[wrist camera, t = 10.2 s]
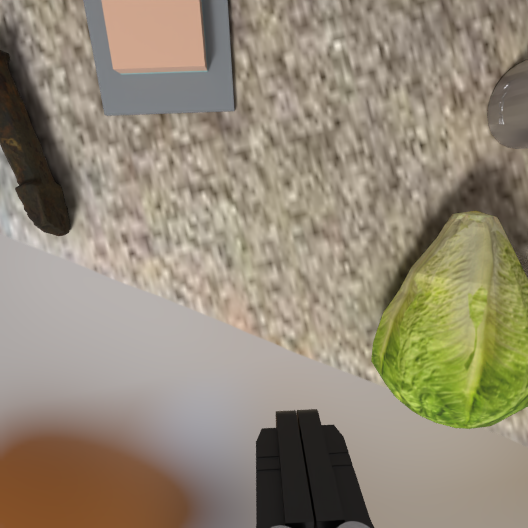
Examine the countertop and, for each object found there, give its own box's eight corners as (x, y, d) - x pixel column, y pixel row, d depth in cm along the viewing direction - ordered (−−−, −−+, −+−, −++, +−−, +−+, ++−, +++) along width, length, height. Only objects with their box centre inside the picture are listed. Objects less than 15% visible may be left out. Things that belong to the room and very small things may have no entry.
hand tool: (-23, 60, 32) (-67, 44, 27) (14, 53, 32) (-25, 36, 27) (50, 235, 38) (23, 245, 34) (81, 229, 38) (58, 238, 33)
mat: (222, -78, 29) (222, -83, 28) (234, 110, 34) (234, 110, 33) (72, -74, 28) (68, -79, 28) (107, 115, 34) (104, 114, 33)
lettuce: (516, 215, 39) (635, 220, 25) (475, 384, 44) (556, 468, 30) (381, 204, 41) (422, 204, 27) (356, 369, 46) (380, 440, 32)
